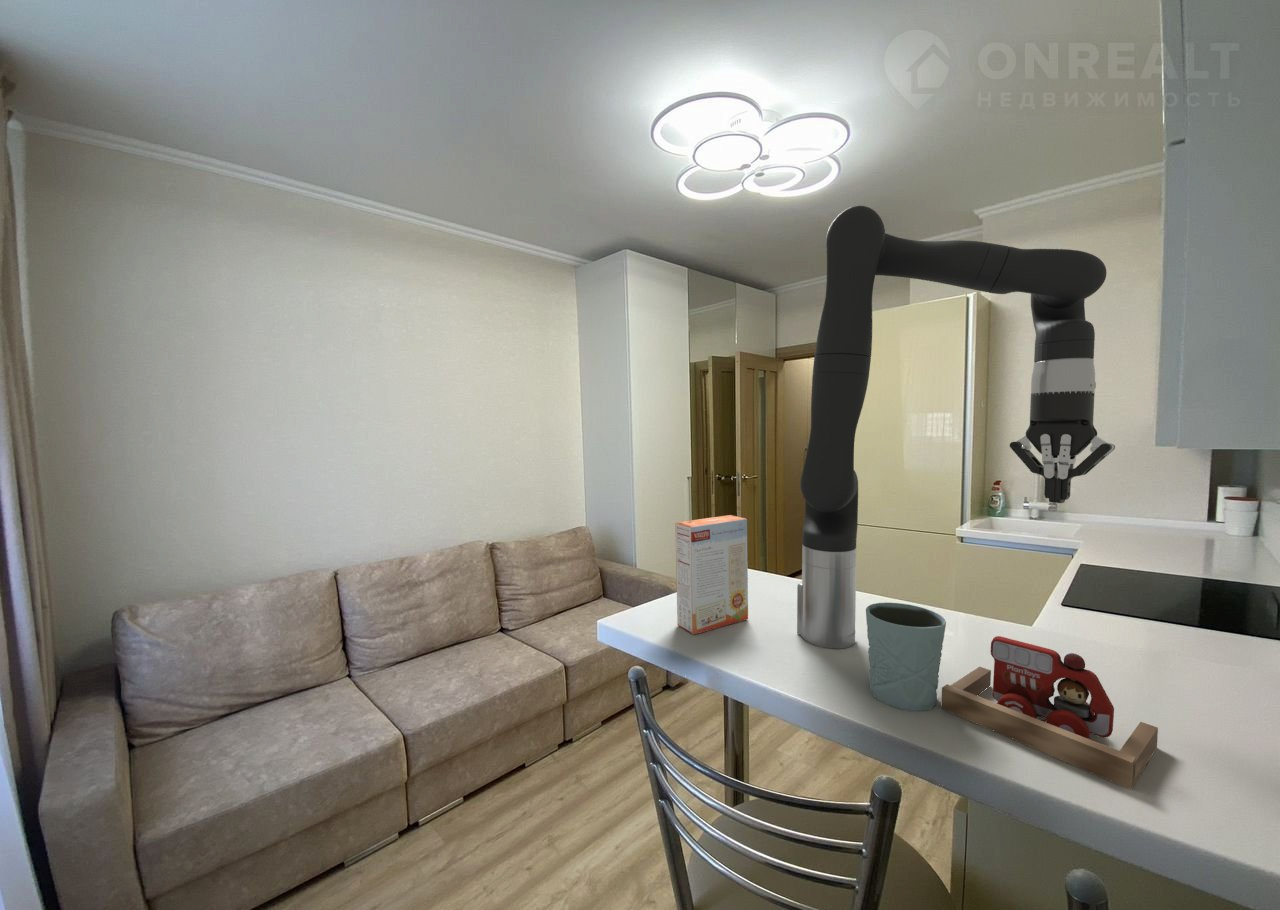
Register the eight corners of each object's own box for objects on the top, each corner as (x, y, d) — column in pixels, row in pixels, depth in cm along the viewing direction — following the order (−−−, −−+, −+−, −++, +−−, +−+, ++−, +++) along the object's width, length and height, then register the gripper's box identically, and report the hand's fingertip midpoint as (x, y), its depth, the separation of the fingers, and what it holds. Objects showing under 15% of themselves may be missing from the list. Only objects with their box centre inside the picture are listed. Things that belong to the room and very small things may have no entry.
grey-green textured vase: (851, 691, 74) (852, 611, 73) (885, 670, 80) (886, 596, 79) (924, 723, 66) (926, 634, 65) (955, 697, 72) (957, 615, 71)
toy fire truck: (1108, 763, 58) (1112, 675, 57) (982, 717, 67) (984, 641, 66) (1114, 737, 62) (1118, 656, 62) (995, 698, 72) (997, 627, 71)
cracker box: (729, 611, 106) (729, 513, 105) (749, 620, 101) (749, 518, 100) (675, 625, 99) (674, 520, 98) (693, 635, 94) (692, 525, 93)
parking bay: (941, 708, 69) (941, 687, 69) (979, 682, 76) (979, 663, 76) (1131, 789, 53) (1132, 762, 53) (1157, 747, 60) (1158, 723, 60)
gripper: (1001, 392, 80) (998, 499, 81) (1112, 386, 69) (1106, 510, 70) (1019, 394, 85) (1015, 495, 86) (1126, 388, 74) (1121, 505, 75)
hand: (1057, 502), depth 78 cm, fingers closed
